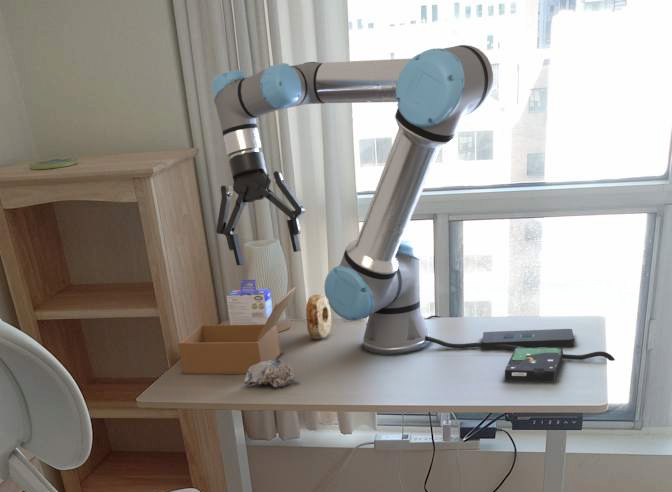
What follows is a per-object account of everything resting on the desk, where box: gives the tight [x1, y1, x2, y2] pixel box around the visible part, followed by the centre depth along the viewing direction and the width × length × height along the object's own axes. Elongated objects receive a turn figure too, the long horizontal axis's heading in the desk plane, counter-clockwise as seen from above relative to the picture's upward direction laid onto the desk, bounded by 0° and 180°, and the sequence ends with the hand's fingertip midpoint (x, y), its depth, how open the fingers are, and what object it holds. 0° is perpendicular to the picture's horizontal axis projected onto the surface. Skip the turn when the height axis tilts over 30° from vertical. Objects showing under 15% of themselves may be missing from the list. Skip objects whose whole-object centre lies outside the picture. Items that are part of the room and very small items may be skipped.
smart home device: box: [482, 328, 575, 350], centre depth 210 cm, size 8×2×20 cm
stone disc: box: [305, 294, 332, 340], centre depth 224 cm, size 10×4×10 cm, turn 161°
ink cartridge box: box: [225, 279, 273, 325], centre depth 224 cm, size 10×6×14 cm, turn 79°
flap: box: [257, 286, 297, 340], centre depth 206 cm, size 9×14×1 cm
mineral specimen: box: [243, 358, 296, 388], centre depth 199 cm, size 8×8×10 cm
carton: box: [177, 323, 282, 375], centre depth 213 cm, size 19×14×7 cm
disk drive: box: [504, 347, 564, 383], centre depth 193 cm, size 10×3×15 cm
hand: (268, 258), depth 205 cm, fingers open, 13 cm apart
